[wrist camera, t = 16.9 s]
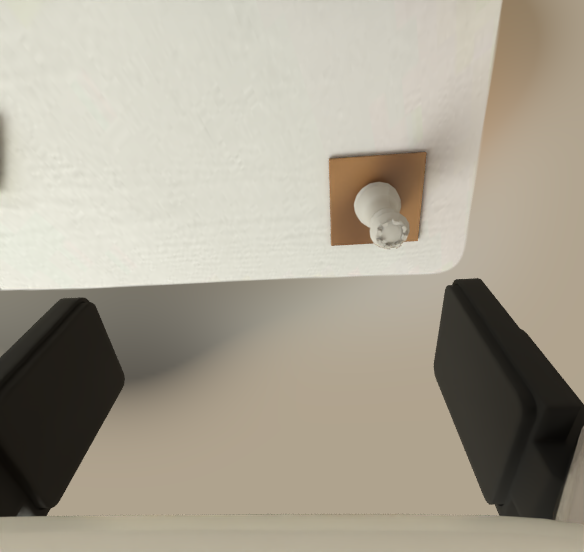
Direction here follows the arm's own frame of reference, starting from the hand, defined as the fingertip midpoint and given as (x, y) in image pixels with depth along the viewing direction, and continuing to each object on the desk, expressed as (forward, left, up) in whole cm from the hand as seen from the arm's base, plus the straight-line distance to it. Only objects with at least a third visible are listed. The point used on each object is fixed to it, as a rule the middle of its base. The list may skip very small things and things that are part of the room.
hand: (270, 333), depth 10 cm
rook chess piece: (-8, +7, -28) cm, 30 cm away
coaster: (-8, +7, -28) cm, 30 cm away
